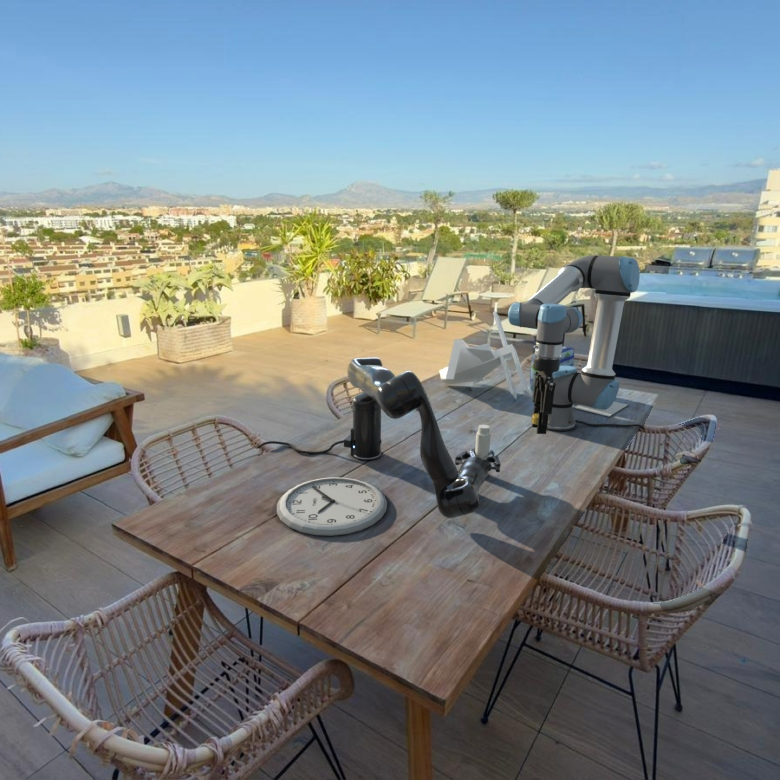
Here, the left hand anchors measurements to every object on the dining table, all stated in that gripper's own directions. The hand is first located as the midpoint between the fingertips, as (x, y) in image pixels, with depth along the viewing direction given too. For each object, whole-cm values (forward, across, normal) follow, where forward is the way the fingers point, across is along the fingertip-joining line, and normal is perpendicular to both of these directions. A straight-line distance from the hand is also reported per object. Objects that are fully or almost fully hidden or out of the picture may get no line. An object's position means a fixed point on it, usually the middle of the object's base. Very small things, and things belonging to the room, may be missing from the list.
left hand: (483, 451), depth 162 cm
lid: (+7, -15, -11) cm, 20 cm away
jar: (-3, 0, +7) cm, 7 cm away
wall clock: (-37, +34, +7) cm, 50 cm away
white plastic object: (+82, +17, +7) cm, 84 cm away
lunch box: (+98, -13, +7) cm, 100 cm away
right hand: (+7, -15, -7) cm, 18 cm away
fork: (+52, +36, +7) cm, 64 cm away
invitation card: (+82, -36, +7) cm, 90 cm away
